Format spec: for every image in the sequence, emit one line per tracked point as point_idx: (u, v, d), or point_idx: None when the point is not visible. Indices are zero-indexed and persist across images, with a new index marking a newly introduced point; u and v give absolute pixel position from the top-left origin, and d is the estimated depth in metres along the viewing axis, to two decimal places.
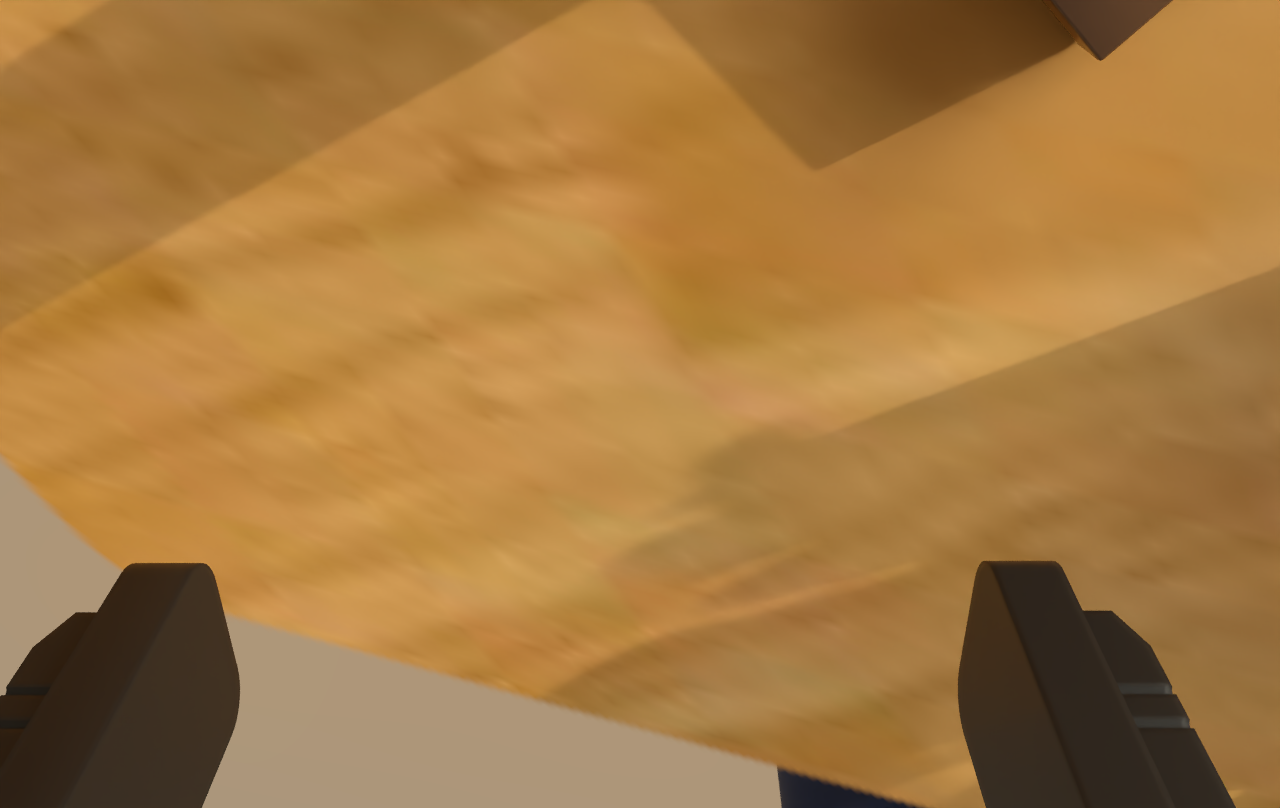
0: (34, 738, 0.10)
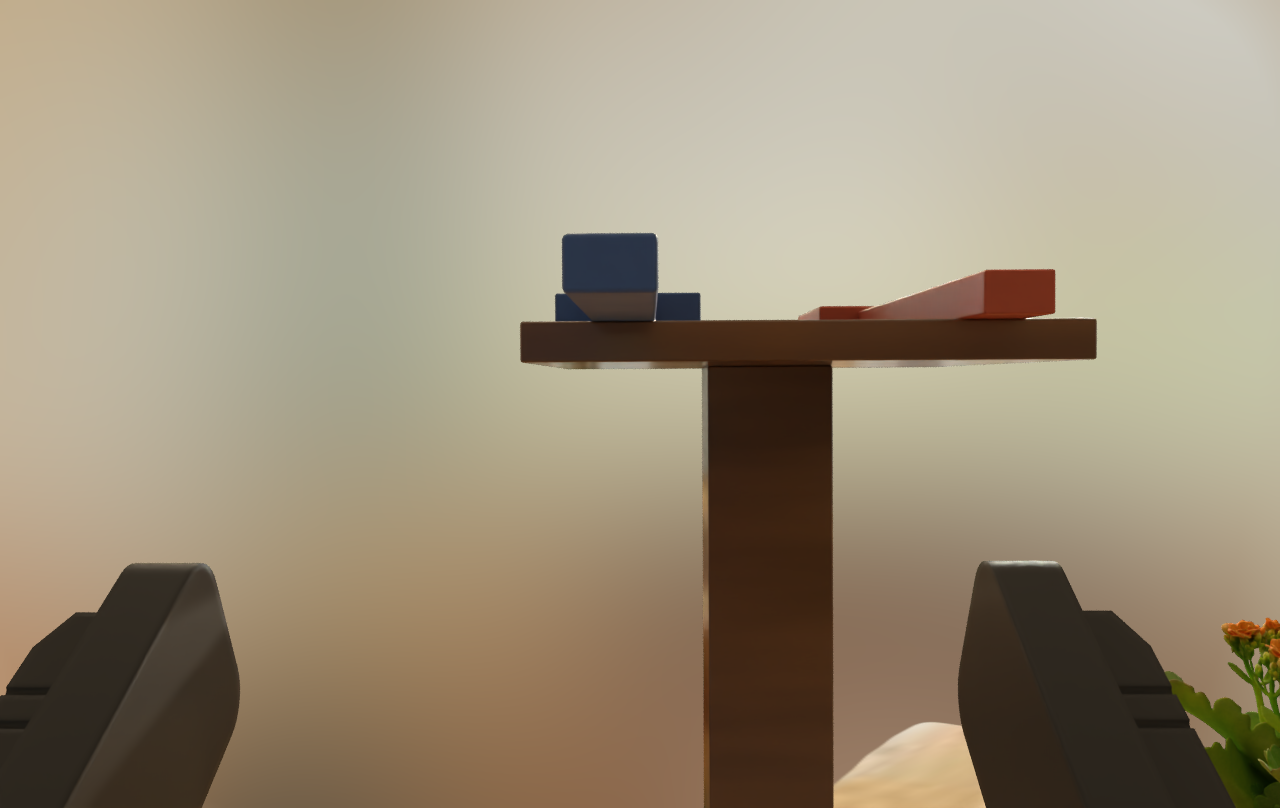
0: (34, 738, 0.10)
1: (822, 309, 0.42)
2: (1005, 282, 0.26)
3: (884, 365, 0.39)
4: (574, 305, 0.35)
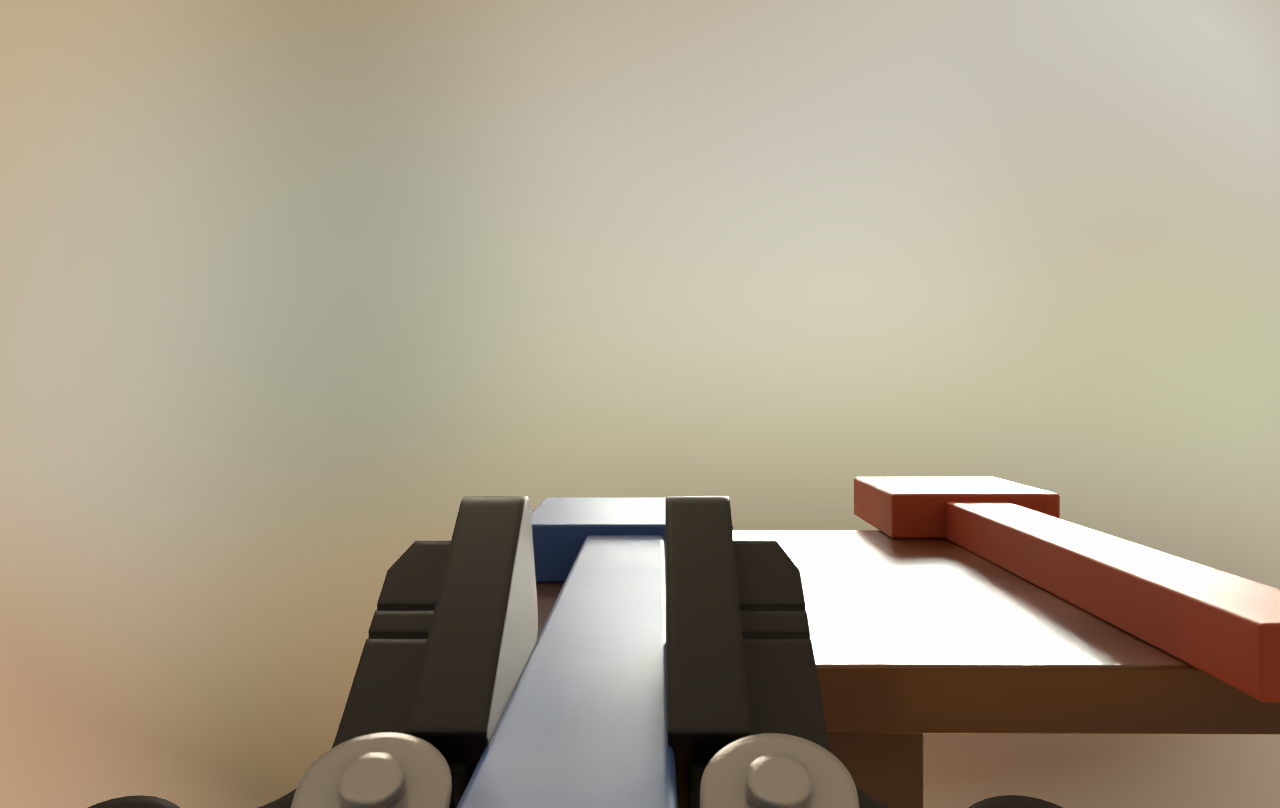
0: (441, 642, 0.11)
1: (896, 498, 0.31)
2: None
3: None
4: (545, 542, 0.24)
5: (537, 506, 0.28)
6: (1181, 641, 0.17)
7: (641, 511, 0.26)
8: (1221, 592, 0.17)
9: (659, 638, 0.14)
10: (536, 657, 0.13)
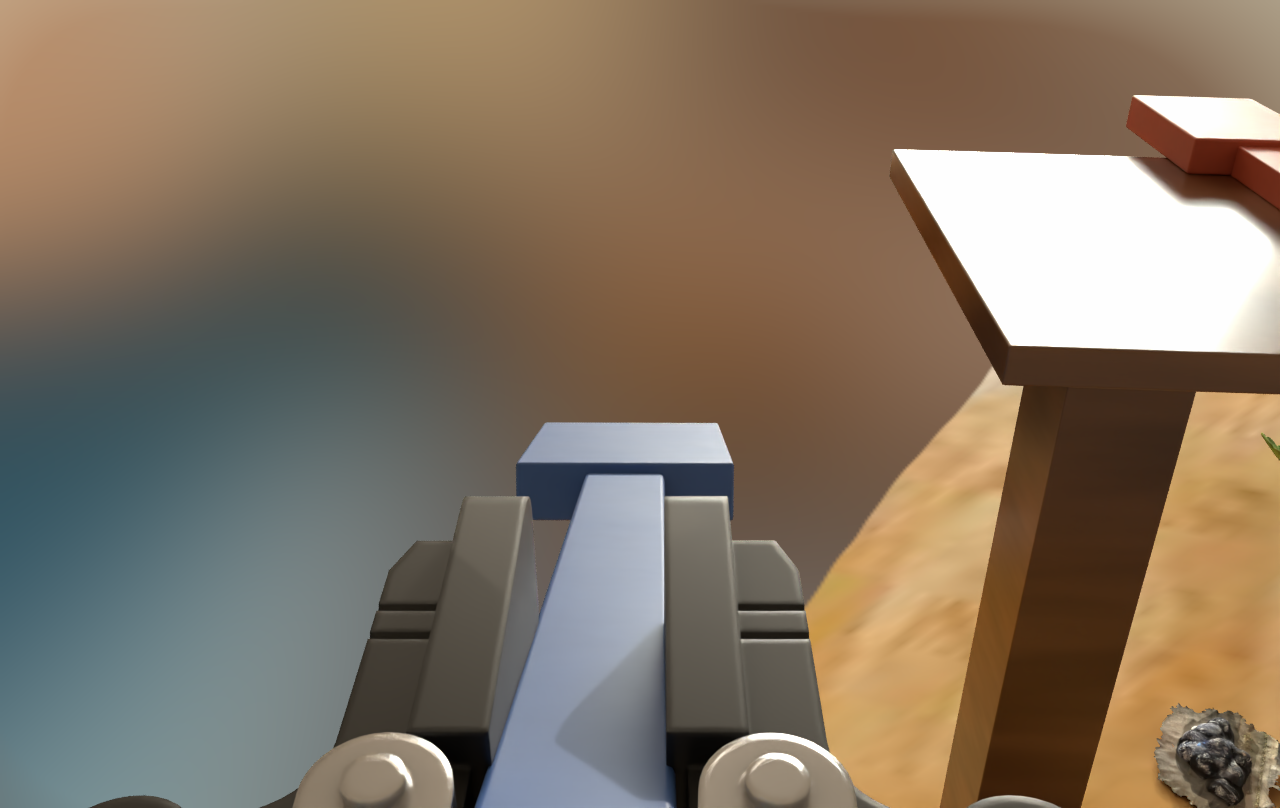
0: (442, 642, 0.11)
1: (1198, 141, 0.38)
2: None
3: None
4: (544, 480, 0.24)
5: (536, 435, 0.27)
6: None
7: (641, 443, 0.26)
8: None
9: (659, 623, 0.14)
10: (535, 651, 0.13)
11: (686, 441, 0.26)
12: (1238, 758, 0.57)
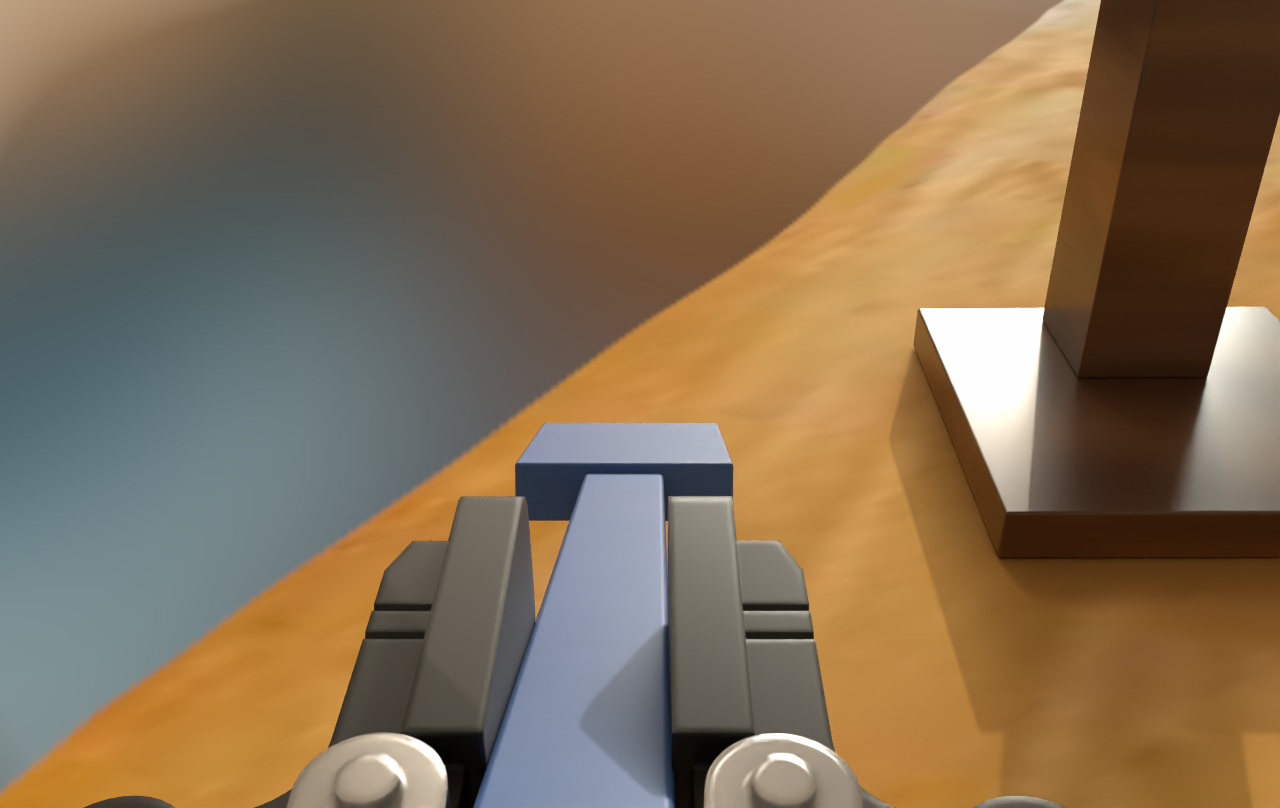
0: (437, 642, 0.11)
1: None
2: None
3: None
4: (544, 480, 0.24)
5: (535, 435, 0.27)
6: None
7: (640, 443, 0.26)
8: None
9: (659, 623, 0.14)
10: (534, 651, 0.13)
11: (685, 441, 0.26)
12: None
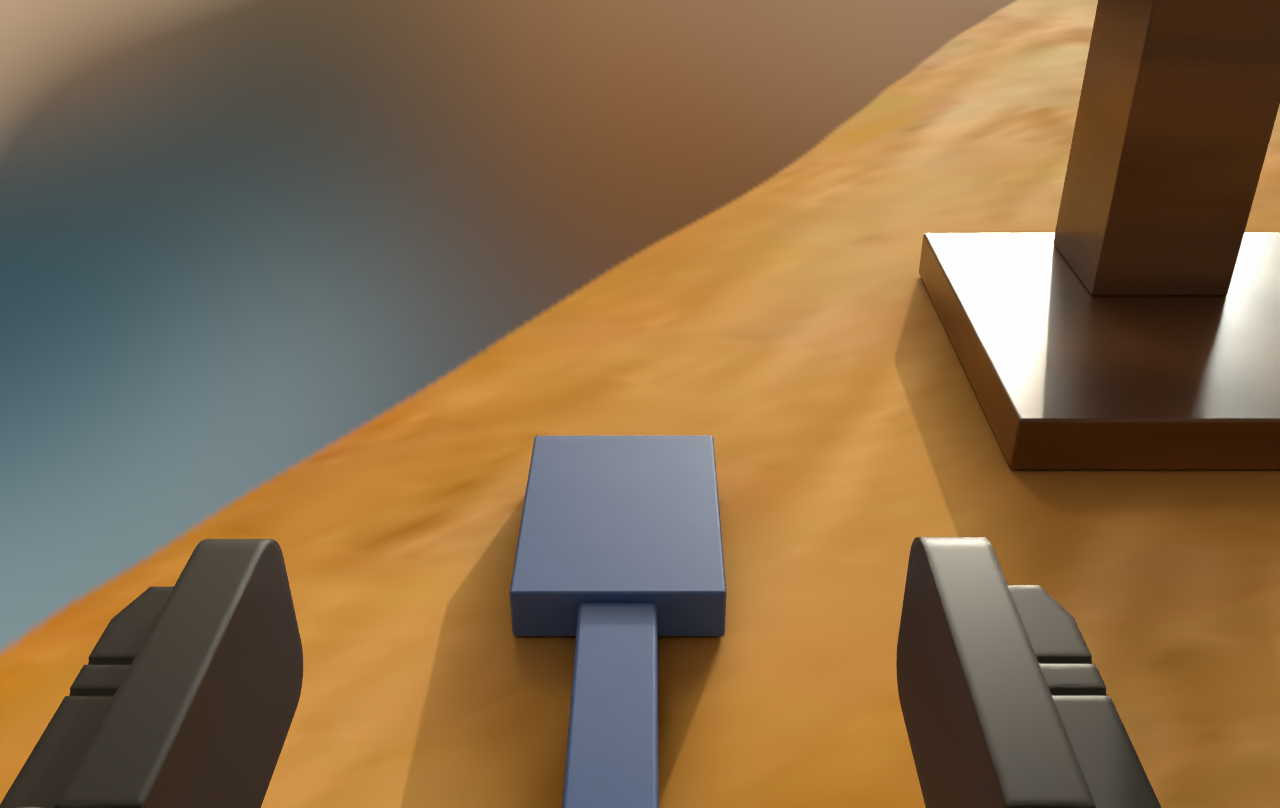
0: (124, 703, 0.10)
1: None
2: None
3: None
4: (538, 605, 0.24)
5: (527, 485, 0.27)
6: None
7: (634, 517, 0.26)
8: None
9: None
10: None
11: (679, 510, 0.26)
12: None
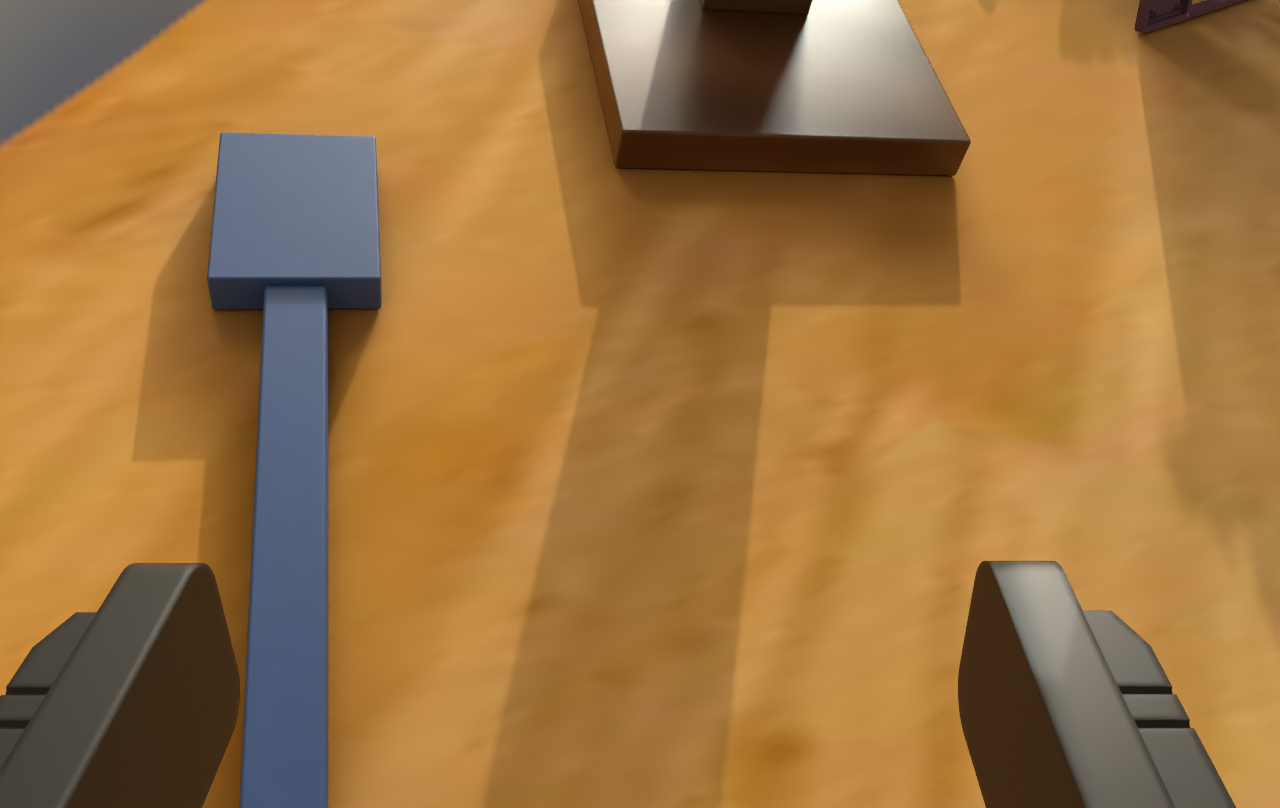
0: (34, 738, 0.10)
1: None
2: None
3: None
4: (232, 287, 0.31)
5: (216, 181, 0.33)
6: None
7: (308, 212, 0.32)
8: None
9: (320, 615, 0.25)
10: (252, 663, 0.24)
11: (346, 206, 0.33)
12: None
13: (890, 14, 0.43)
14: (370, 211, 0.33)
